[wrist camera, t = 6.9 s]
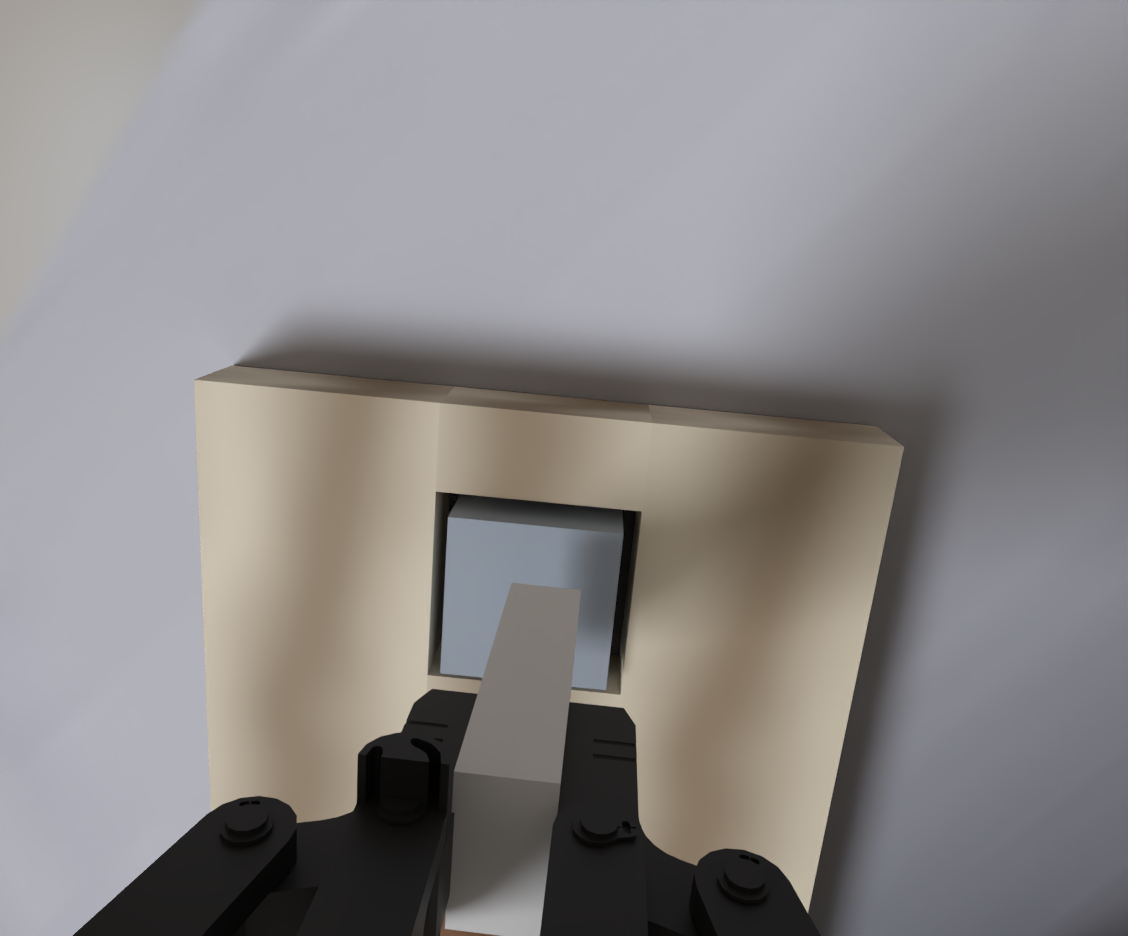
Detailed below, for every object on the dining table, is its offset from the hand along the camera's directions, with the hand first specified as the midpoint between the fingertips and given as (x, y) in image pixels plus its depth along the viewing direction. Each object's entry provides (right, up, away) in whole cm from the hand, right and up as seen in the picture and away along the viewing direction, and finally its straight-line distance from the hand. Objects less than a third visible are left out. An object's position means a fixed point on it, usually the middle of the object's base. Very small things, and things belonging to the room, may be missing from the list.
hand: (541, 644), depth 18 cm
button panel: (-1, -4, +6) cm, 7 cm away
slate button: (0, +2, +5) cm, 5 cm away
